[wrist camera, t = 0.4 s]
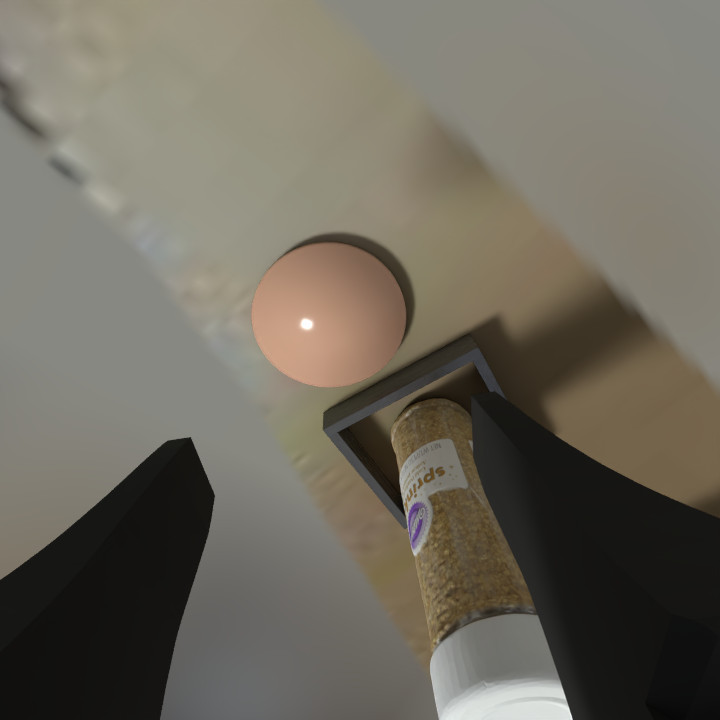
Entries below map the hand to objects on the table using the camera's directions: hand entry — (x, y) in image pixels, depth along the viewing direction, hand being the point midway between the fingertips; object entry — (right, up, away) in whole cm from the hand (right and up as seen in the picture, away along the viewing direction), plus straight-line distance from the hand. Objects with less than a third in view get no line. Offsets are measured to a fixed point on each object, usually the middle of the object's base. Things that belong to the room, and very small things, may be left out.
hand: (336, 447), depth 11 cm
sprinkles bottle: (+4, -1, +13) cm, 14 cm away
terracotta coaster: (-1, +4, +9) cm, 10 cm away
